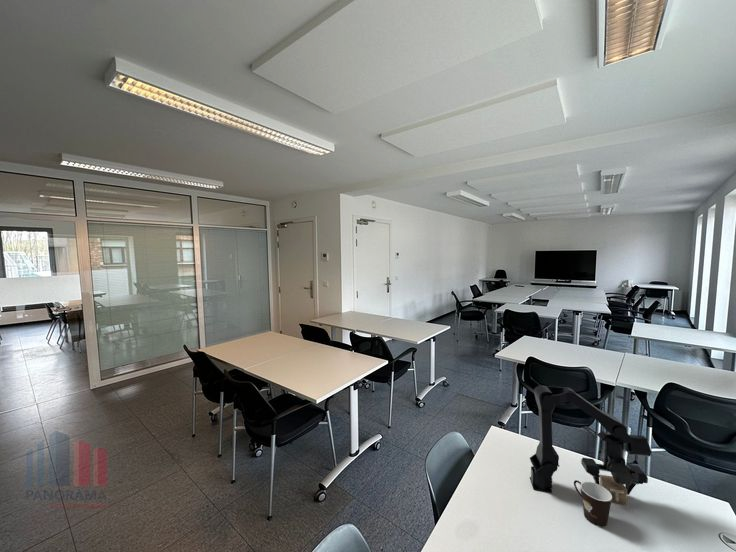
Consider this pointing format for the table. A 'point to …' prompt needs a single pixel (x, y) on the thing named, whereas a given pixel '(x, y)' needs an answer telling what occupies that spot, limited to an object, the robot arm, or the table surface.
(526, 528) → the table surface
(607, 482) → the walnut letter cube
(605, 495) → the coffee mug
